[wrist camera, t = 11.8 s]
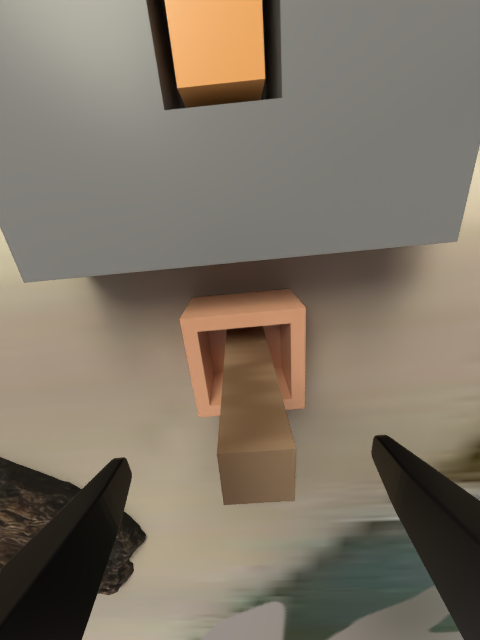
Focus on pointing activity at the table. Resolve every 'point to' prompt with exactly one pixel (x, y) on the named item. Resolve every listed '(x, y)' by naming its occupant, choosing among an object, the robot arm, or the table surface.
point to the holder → (238, 312)
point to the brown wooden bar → (253, 424)
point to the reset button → (217, 50)
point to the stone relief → (41, 506)
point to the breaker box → (233, 136)
